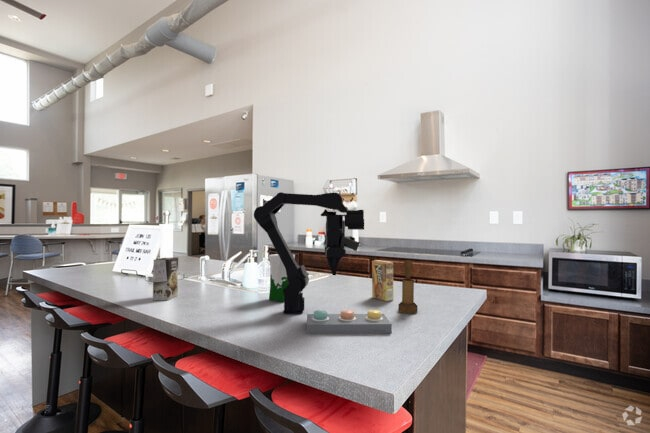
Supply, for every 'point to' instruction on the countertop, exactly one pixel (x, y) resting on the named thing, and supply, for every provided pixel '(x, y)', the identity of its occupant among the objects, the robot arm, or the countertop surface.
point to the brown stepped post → (407, 292)
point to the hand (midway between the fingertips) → (334, 275)
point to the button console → (348, 324)
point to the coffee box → (165, 278)
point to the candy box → (382, 280)
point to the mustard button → (374, 314)
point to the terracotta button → (347, 314)
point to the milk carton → (277, 278)
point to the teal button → (320, 314)
